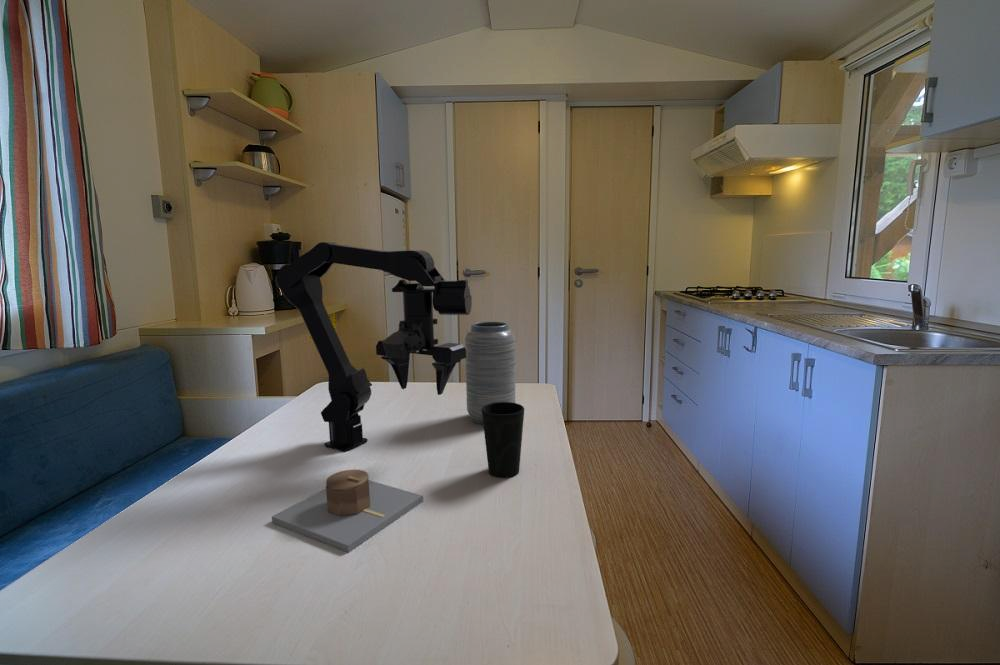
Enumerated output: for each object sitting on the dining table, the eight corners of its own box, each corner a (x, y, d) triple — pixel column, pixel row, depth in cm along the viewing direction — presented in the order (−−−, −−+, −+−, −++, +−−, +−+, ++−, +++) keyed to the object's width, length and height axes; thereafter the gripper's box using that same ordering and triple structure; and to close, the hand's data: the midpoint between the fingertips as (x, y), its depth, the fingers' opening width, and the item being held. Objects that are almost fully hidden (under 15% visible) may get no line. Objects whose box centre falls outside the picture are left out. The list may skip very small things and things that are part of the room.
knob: (319, 509, 78) (317, 480, 77) (350, 492, 84) (348, 465, 83) (348, 519, 75) (346, 488, 74) (378, 500, 80) (376, 472, 80)
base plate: (272, 522, 77) (269, 497, 76) (351, 480, 90) (350, 459, 90) (348, 552, 69) (346, 524, 68) (423, 501, 82) (422, 478, 82)
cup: (494, 484, 88) (493, 417, 86) (476, 468, 95) (474, 405, 93) (532, 474, 91) (532, 410, 90) (512, 459, 98) (511, 399, 96)
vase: (524, 416, 124) (523, 322, 120) (498, 430, 114) (497, 329, 110) (484, 408, 130) (483, 319, 126) (457, 421, 120) (454, 325, 117)
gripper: (353, 317, 98) (358, 395, 100) (431, 322, 89) (434, 409, 91) (392, 310, 107) (396, 382, 110) (466, 315, 98) (468, 393, 101)
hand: (421, 391), depth 103 cm, fingers open, 9 cm apart
